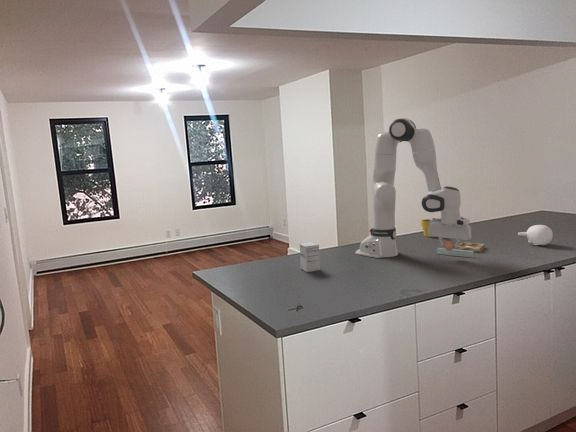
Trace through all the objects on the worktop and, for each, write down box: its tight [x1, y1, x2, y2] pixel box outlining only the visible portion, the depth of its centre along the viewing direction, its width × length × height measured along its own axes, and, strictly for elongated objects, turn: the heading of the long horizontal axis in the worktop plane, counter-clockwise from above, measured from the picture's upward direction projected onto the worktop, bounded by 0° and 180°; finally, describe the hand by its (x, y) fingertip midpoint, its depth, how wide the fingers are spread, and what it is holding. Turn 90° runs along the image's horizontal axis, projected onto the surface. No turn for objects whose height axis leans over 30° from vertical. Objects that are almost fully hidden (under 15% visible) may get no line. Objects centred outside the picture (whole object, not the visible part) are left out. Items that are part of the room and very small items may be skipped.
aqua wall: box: [436, 247, 475, 259], centre depth 245 cm, size 18×1×3 cm, turn 54°
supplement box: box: [299, 241, 321, 273], centre depth 230 cm, size 7×7×13 cm
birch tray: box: [455, 241, 486, 254], centre depth 257 cm, size 12×12×2 cm
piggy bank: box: [517, 224, 554, 246], centre depth 259 cm, size 12×12×15 cm
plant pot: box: [420, 218, 437, 238], centre depth 294 cm, size 10×10×10 cm
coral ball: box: [443, 239, 455, 250], centre depth 238 cm, size 5×5×5 cm
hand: (449, 246), depth 238 cm, fingers closed on coral ball, 5 cm apart
